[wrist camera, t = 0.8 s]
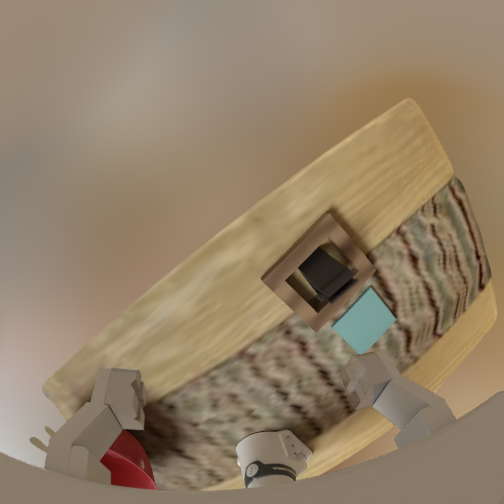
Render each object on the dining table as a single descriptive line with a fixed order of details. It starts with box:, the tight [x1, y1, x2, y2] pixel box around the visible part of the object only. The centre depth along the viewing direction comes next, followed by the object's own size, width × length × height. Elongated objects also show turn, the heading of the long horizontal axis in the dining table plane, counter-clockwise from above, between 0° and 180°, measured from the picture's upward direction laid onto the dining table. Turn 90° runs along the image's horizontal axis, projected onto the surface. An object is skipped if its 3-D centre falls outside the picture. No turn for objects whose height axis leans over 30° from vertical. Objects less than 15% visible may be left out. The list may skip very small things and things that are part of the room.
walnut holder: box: [261, 213, 376, 332], centre depth 56 cm, size 16×18×2 cm
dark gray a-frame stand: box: [298, 247, 358, 304], centre depth 51 cm, size 9×6×12 cm, turn 38°
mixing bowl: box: [100, 429, 157, 490], centre depth 51 cm, size 28×28×16 cm
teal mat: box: [331, 287, 396, 355], centre depth 59 cm, size 12×12×1 cm
